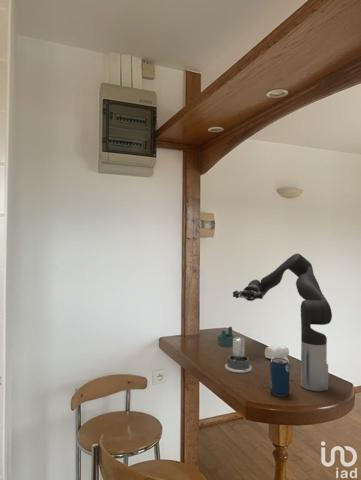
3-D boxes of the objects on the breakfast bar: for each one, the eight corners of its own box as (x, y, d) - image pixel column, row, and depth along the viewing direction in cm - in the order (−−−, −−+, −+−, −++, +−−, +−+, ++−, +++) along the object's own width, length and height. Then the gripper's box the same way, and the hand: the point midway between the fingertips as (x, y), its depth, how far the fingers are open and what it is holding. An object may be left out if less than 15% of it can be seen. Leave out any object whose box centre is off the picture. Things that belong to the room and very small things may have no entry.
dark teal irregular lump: (231, 342, 197) (231, 326, 197) (236, 346, 188) (236, 330, 188) (216, 342, 195) (216, 326, 196) (220, 347, 186) (220, 330, 187)
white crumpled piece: (264, 365, 169) (279, 363, 155) (261, 346, 172) (275, 343, 158) (280, 363, 171) (296, 361, 157) (276, 345, 174) (292, 342, 161)
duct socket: (250, 364, 160) (250, 354, 160) (252, 373, 148) (252, 363, 148) (224, 363, 161) (225, 353, 161) (225, 372, 150) (225, 361, 150)
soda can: (293, 394, 128) (293, 361, 128) (280, 398, 124) (280, 364, 125) (278, 387, 134) (279, 356, 134) (265, 391, 130) (266, 359, 130)
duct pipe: (240, 363, 158) (240, 336, 158) (246, 367, 153) (246, 339, 154) (230, 364, 156) (230, 337, 156) (236, 368, 151) (236, 340, 152)
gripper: (238, 284, 185) (230, 287, 169) (265, 286, 179) (260, 289, 164) (237, 298, 184) (230, 303, 169) (265, 300, 179) (260, 305, 164)
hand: (245, 296), depth 167 cm, fingers open, 8 cm apart
